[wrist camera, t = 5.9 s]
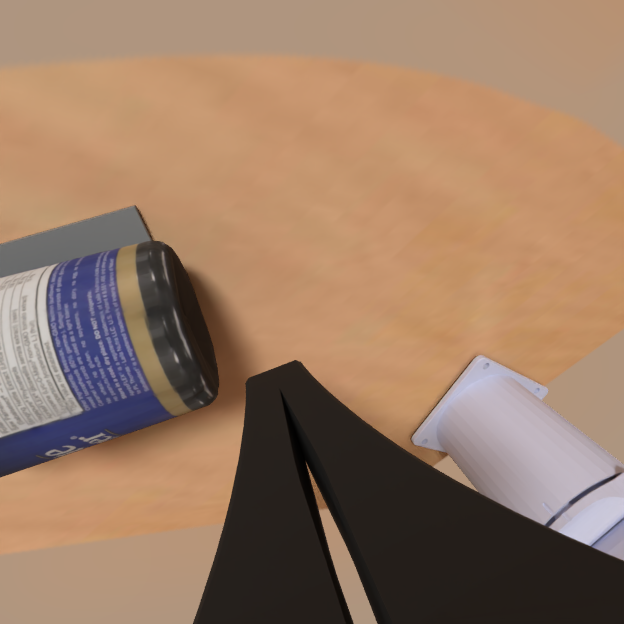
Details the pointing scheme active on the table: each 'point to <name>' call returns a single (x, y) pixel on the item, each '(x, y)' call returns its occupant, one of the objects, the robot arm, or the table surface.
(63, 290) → the pill bottle
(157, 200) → the table surface
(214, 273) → the table surface
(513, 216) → the table surface
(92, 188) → the table surface
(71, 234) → the rubber mat
